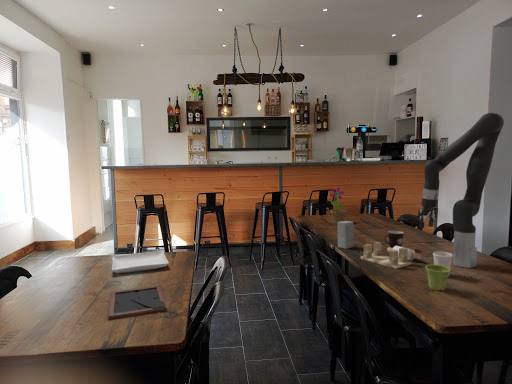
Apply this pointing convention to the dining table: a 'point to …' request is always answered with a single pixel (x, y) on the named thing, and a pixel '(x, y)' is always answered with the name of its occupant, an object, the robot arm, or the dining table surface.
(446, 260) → the dixie cup
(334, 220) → the flowerpot
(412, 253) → the roll
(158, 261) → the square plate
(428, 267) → the plant pot
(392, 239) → the coffee mug
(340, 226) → the skincare box
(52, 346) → the dining table surface
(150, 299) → the picture frame
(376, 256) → the holder
